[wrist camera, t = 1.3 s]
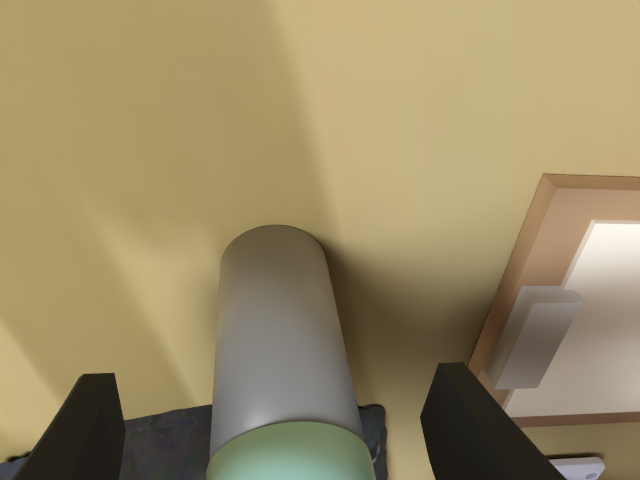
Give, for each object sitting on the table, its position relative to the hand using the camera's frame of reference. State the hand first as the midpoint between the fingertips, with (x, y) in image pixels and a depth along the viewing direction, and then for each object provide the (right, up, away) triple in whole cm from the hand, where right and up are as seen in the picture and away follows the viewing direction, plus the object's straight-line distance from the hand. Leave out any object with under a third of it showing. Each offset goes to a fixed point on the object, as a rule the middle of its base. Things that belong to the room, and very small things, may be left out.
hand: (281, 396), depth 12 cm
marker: (-1, +3, +4) cm, 5 cm away
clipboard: (+14, +1, +7) cm, 16 cm away
